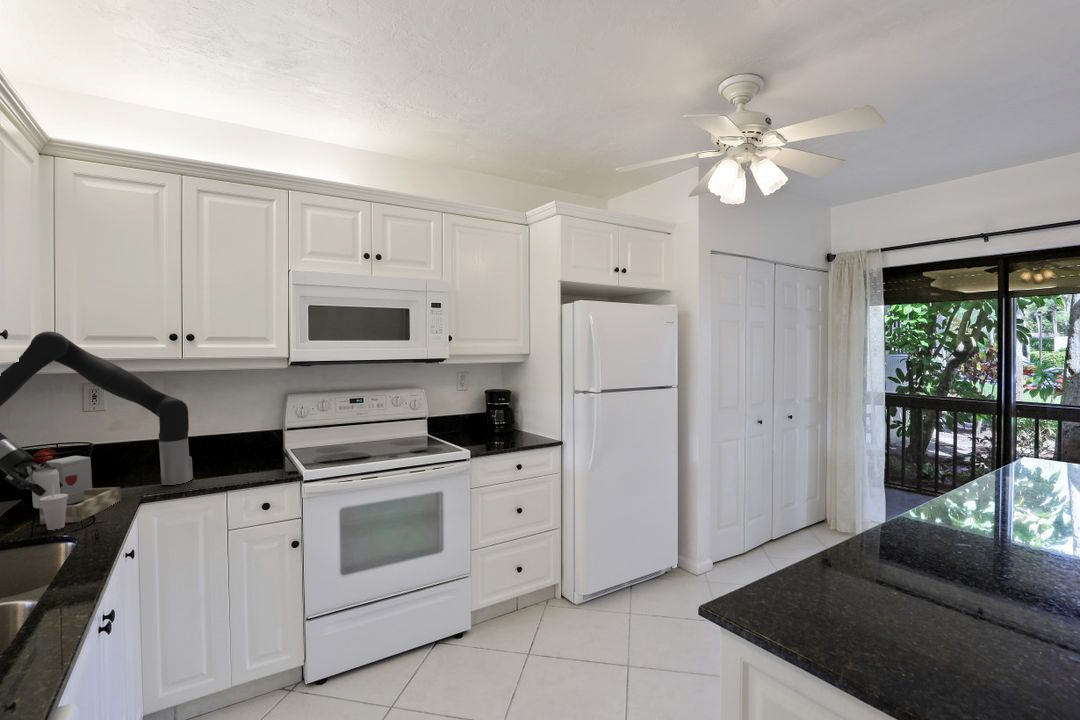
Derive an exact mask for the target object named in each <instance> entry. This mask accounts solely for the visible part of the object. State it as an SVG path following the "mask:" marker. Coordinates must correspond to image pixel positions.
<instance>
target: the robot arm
mask: <svg viewBox="0 0 1080 720" xmlns="http://www.w3.org/2000/svg"><path fill="white" fill-rule="evenodd" d="M18 358H19V362H16V363H14V362H13V363H12V364H11V365H10V366H8V367H7V368H6V369H5V370H3V371H2V372H1V376H0V408H1V407H2V406H3V405H4V404H5V403H6V402H7V401H8V400H10V399H11V398H12V397H13V396H14V395H15V394H16V393H17V392H18V391H19V390H20V389H21V388H22V387H23V386H24V385H25V384H26V383H27V382H28V381H30V379H32V377H33V376H35V375H36V374H37V373H38V372H39V371H41V370H42V369H43V368H45V367H46V366H48V365H49V364H50V363H52V362H53V361H54V362H56V363H58V364H61V365H62V366H64V367H65V366H66V367H67V368H69V369H71V370H73V371H75V372H76V373H78V374H79V375H80V376H81V377H83V378H84V379H86V380H87V381H88V382H89V383H91V384H93V385H95V386H96V387H98V388H100V389H102V390H104V391H105V392H108V393H109V394H112V395H113V396H117V397H119V398H121V399H124V400H125V401H129V402H131V403H134V404H137V405H139V406H141V407H143V408H145V409H146V410H148V411H150V412H151V413H152V414H154V415H155V416H157V417H158V419H159V420H158V421H159V422H158V423H159V424H158V425H159V433H158V446H159V461H160V462H159V463H160V479H161V480H160V481H161V486H162V485H175V484H181V485H183V484H182V483H185V484H187V483H186V482H188V481H190V480H192V479H193V480H194V475H193V474H194V473H193V459H192V458H193V457H192V456H190V448H189V447H190V446H189V430H190V427H189V425H190V424H189V423H190V422H189V408H188V405H187V403H185V402H184V400H181V399H178V398H176V397H173V396H171V395H168V394H165V393H163V392H161V391H158V390H157V389H155V388H153V387H152V386H150V385H149V384H147V382H144V380H142V379H140V378H139V377H138V376H136V375H135V374H134V373H131V372H129V371H128V370H126V369H124V368H122V367H121V366H119V365H117V364H115V363H112V362H111V361H108V360H106V359H104V358H102V357H99V356H97V355H95V354H92V353H90V352H88V351H86V350H85V349H84V348H82V347H80V346H78V345H77V344H75V343H74V342H72V341H71V340H69V339H68V338H67V337H65V336H64V335H62V334H60V333H59V332H55V331H44V332H40V333H38V334H36V335H35V336H34V337H33V338H32V339H31V341H30V344H29V345H28V346H27V348H26V349H25V350H24V352H23V353H21V355H20V356H19V357H18ZM33 460H34V457H33V456H32V455H31V454H30V453H29V452H28V451H26V450H25V449H24V448H22V447H21V446H20V445H18V443H16V442H14V441H12V440H11V439H9V438H8V437H6V436H5V434H3V433H2V432H0V470H1V471H2V472H4V473H5V474H6V476H5V477H4V480H5V481H7V482H9V484H11V485H13V486H14V487H16V488H17V489H18V490H22V491H23V490H24V489H26V490H30V491H31V493H32V492H34V493H35V494H36V495H38V496H42V495H43V494H44V493H45V492H46V490H45V489H43V488H42V487H41V486H39V485H38V484H35V481H34V480H33V476H32V474H33V470H36V469H40V468H46V467H51V466H50V465H49V464H48V463H46V461H43V462H42V463H39V464H38V463H36V462H34V461H33ZM193 480H192V481H193ZM190 482H191V481H190ZM188 483H189V482H188ZM59 484H60V488H61V487H62V486H63V484H62V483H61V482H60V481H59ZM175 486H176V485H175Z"/></svg>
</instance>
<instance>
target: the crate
mask: <svg viewBox="0 0 1080 720" xmlns="http://www.w3.org/2000/svg"><path fill="white" fill-rule="evenodd" d="M121 495H122V493H121V486H116V487H115V486H114V487H96V488H95V487H94V488H93V487H92V488H91V489H85V490H84V501H80V502H78V503H76V504H69V505H66V516H65V524H67V523H68V524H69V523H70V524H71V523H80V522H82V521H84V520H85V519H87V518H89V517H92V516H94V515H96V514H98V513H100V512H102V511H103V510H106V509H108V508H110V507H112V506H114V505H116V504H118V503H119V501H120V502H122V496H121ZM117 502H118V503H117ZM115 503H116V504H115ZM113 504H114V505H113ZM111 505H112V506H111ZM109 506H110V507H109ZM107 507H108V508H107ZM39 522H40V525H46V521H45V517H44V513H43V509H42V508H39Z"/></svg>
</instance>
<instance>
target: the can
mask: <svg viewBox="0 0 1080 720" xmlns="http://www.w3.org/2000/svg"><path fill="white" fill-rule="evenodd" d="M56 468H57V467H46V468H40V469H36V470H33V474H32V476H33V480H34V481H35V484H38V485H39V486H41V487H42V488H43V489H45V490H46V492H45V493H44V494H43V495H42V496H38V495H36V494H35V493H34V492H32V491H31V493H32V494H31V496H32V497H31V498H32V507H33V508H35V509H39V508H42V505H41V503H39V502H40V500H39V499H41V498H43V497H46V496H49V495H52V493H51V483H53V485H54V495H55V494H60V484H59V472H58V470H57V469H56Z"/></svg>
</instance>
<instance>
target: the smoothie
mask: <svg viewBox="0 0 1080 720" xmlns="http://www.w3.org/2000/svg"><path fill="white" fill-rule="evenodd" d="M51 493H52V495H49V496H46V497H43V498H41V499H39V500H40V502H39V503H41V505H42V509H43V513H44V517H45V521H46V524H45V525H46V528H47V531H48V530H53V531H56V530H55V529H58V530H61V528H62V529H63V528H65V526H66V525H65V524H66V523H65V516H66V506H67V499H68V498H69V497H68V494H55V495H54V485H53V483H51Z"/></svg>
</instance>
